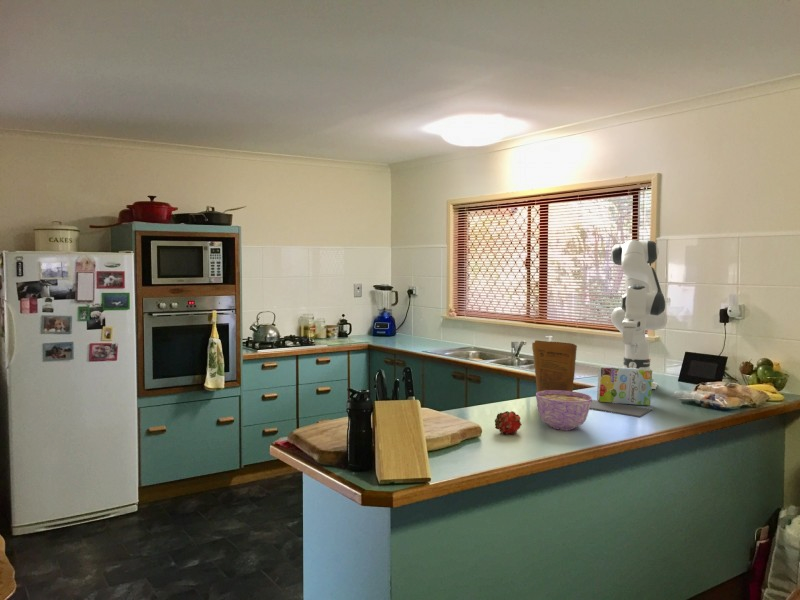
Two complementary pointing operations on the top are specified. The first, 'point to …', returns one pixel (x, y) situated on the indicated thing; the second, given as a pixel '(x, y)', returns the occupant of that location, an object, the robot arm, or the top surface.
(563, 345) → the pancake mix bag
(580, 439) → the top surface
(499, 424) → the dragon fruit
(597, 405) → the charcoal rubber mat
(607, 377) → the snack box
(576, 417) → the bowl of food
